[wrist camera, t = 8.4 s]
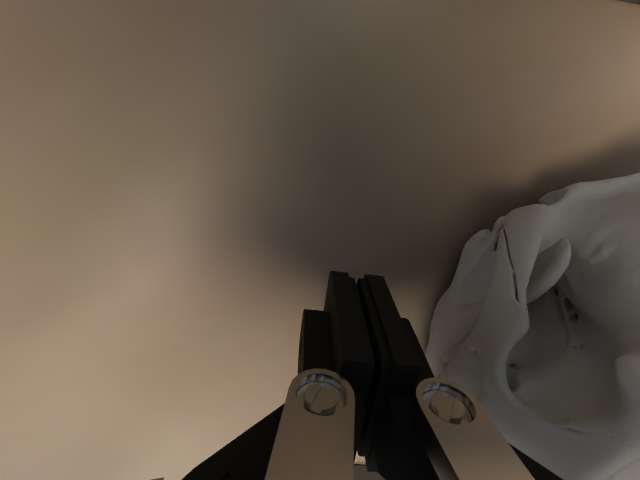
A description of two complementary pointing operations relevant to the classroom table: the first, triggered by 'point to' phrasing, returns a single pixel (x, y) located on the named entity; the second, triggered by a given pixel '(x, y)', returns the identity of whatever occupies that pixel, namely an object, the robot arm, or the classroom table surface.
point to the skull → (553, 328)
